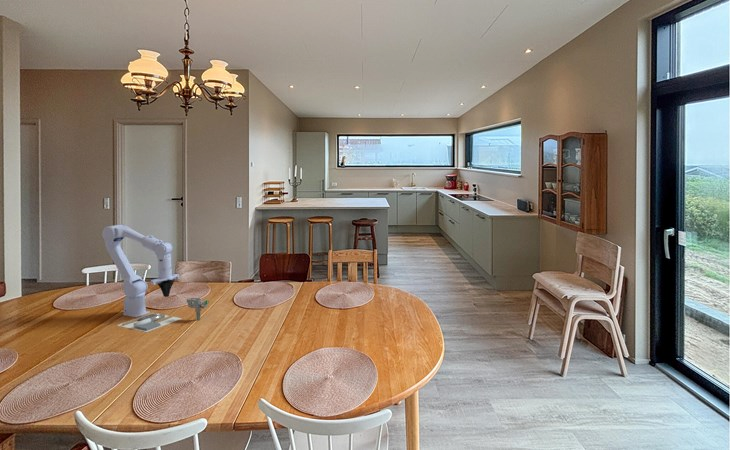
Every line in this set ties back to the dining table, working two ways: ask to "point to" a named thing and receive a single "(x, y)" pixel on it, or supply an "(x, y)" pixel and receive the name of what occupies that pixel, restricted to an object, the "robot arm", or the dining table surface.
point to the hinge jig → (148, 323)
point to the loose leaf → (153, 317)
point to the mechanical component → (197, 305)
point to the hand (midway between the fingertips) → (166, 296)
